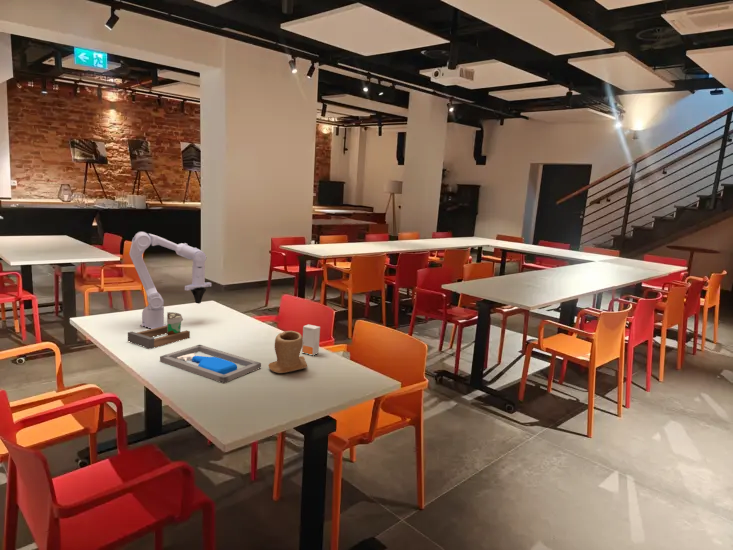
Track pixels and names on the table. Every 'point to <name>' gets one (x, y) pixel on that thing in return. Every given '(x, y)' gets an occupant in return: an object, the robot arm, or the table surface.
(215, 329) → the table surface
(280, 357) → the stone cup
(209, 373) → the rim
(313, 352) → the skincare box
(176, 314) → the food container
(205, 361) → the spray bottle
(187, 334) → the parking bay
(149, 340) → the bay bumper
